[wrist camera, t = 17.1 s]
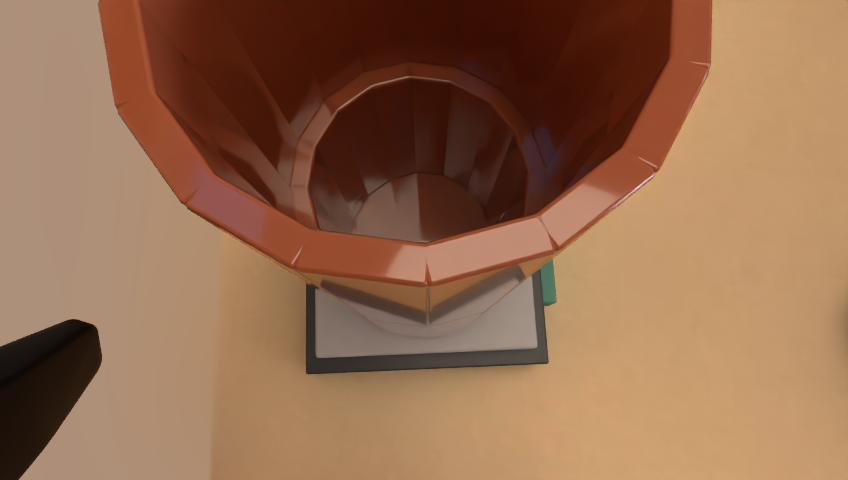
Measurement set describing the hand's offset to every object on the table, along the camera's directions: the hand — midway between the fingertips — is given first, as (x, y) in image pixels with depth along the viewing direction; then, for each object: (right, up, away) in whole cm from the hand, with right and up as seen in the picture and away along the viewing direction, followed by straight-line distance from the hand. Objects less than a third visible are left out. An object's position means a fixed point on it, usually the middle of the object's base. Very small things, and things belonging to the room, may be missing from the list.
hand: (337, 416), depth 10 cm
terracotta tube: (+1, +3, +9) cm, 9 cm away
